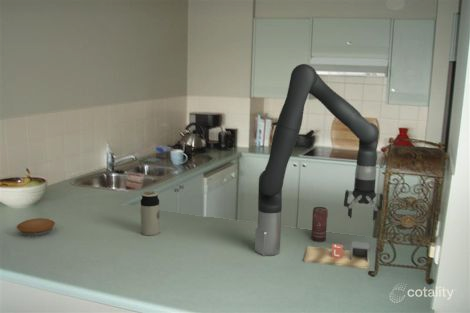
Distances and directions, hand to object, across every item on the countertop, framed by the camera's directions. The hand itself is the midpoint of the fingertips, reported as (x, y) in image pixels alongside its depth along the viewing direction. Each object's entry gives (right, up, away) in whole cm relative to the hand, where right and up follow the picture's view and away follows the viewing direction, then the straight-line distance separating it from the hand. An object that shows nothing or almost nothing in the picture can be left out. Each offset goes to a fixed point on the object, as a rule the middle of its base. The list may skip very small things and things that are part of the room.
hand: (362, 218), depth 182 cm
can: (-12, -13, +25) cm, 31 cm away
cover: (0, -16, +3) cm, 16 cm away
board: (-8, -16, +5) cm, 19 cm away
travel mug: (-85, -10, +30) cm, 91 cm away
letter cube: (-8, -15, +5) cm, 18 cm away
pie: (-135, -10, +28) cm, 138 cm away
